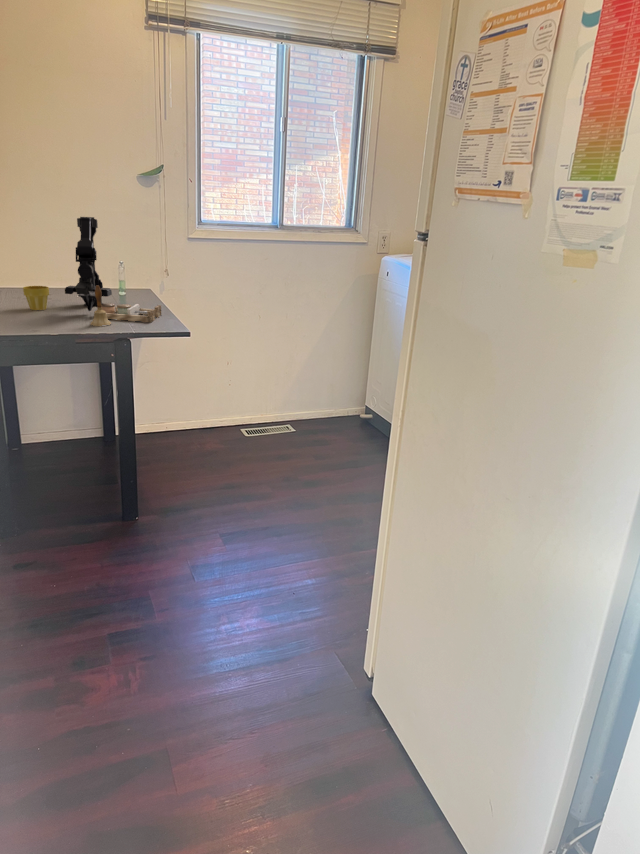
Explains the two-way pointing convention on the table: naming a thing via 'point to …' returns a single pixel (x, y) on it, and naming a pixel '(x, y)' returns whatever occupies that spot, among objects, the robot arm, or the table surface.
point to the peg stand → (135, 310)
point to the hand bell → (99, 310)
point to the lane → (151, 315)
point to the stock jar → (123, 308)
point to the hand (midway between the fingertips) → (89, 310)
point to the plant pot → (36, 297)
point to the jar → (108, 307)
